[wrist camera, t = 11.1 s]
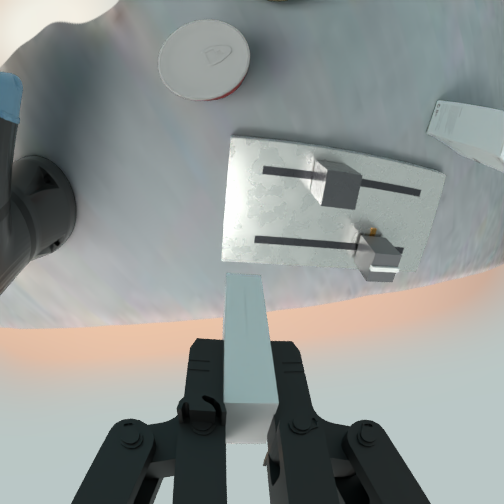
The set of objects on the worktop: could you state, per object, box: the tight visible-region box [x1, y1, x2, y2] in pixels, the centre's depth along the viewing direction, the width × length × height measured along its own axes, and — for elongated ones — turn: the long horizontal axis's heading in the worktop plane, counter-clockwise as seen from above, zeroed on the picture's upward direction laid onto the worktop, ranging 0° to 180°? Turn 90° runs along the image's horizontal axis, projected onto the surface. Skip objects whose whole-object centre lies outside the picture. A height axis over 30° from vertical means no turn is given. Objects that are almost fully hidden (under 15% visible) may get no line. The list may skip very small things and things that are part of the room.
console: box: [221, 135, 446, 272], centre depth 37 cm, size 30×16×8 cm, turn 84°
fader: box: [354, 235, 402, 282], centre depth 38 cm, size 4×4×5 cm
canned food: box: [158, 19, 250, 101], centre depth 26 cm, size 8×8×11 cm
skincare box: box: [426, 100, 504, 173], centre depth 28 cm, size 8×6×15 cm
